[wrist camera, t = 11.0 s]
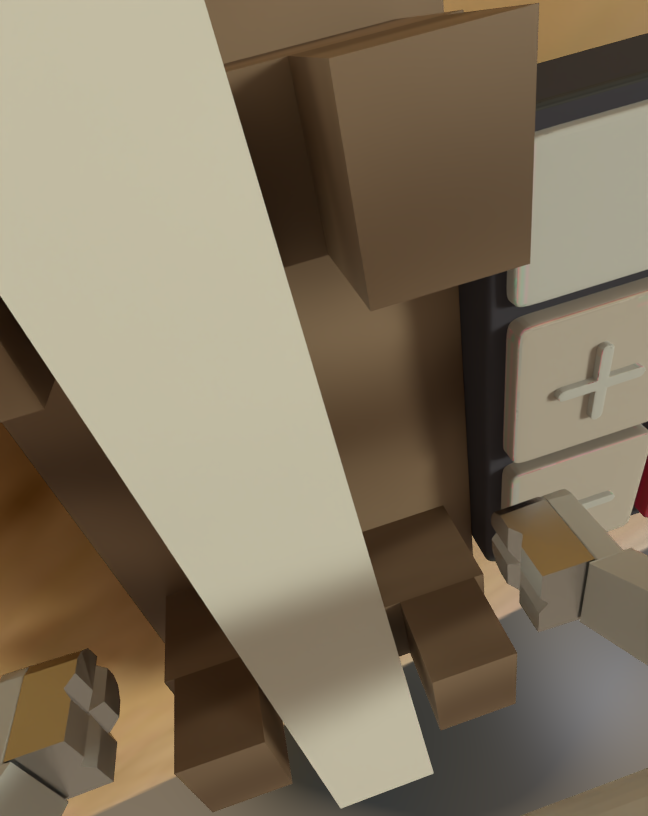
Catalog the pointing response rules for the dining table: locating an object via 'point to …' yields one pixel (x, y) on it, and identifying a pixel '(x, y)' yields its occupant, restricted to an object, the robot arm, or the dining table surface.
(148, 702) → the dining table surface
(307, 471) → the clay strip
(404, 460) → the rack
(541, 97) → the calculator
